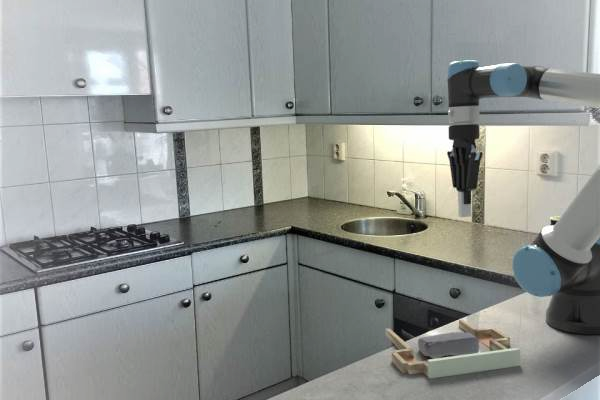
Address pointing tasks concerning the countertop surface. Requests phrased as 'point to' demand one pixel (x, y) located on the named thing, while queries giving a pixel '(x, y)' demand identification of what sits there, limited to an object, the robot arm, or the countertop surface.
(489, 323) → the countertop surface
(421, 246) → the countertop surface
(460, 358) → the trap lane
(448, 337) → the stone block
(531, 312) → the countertop surface
